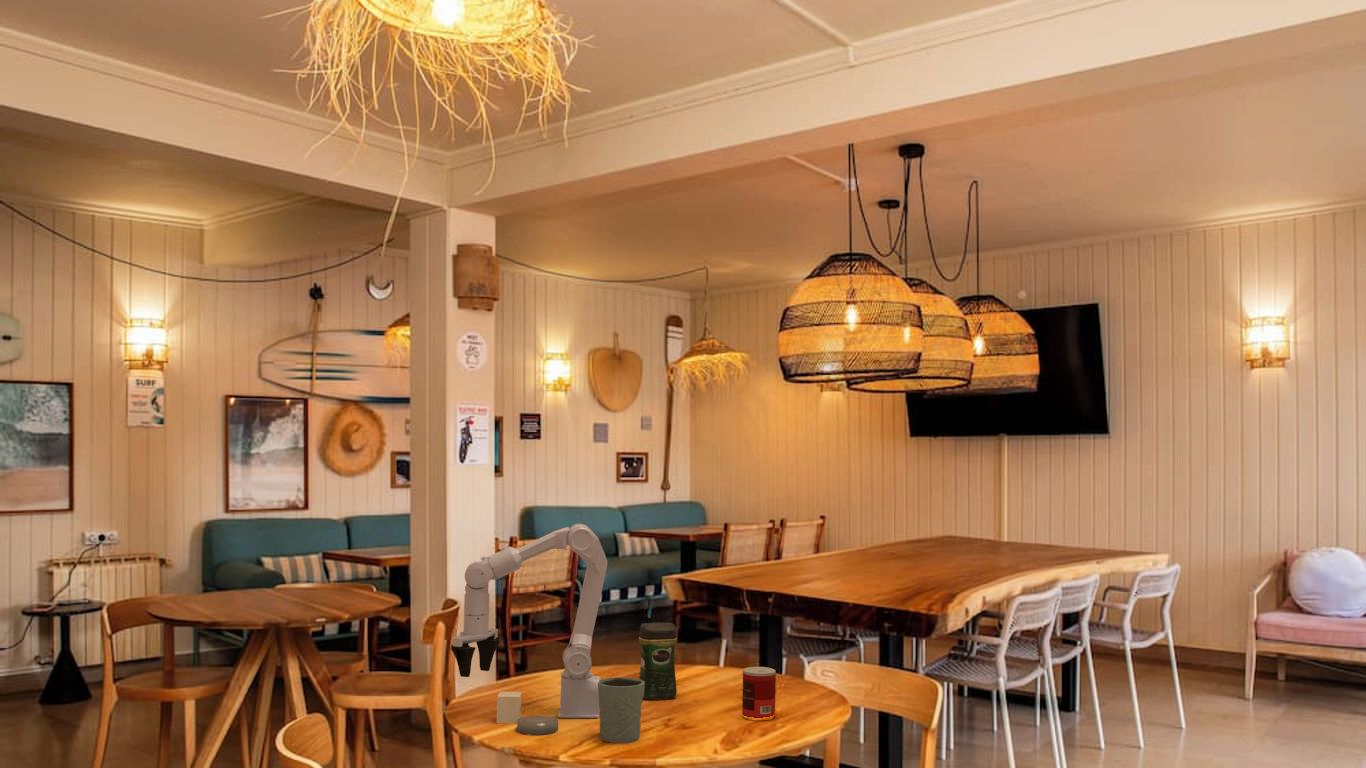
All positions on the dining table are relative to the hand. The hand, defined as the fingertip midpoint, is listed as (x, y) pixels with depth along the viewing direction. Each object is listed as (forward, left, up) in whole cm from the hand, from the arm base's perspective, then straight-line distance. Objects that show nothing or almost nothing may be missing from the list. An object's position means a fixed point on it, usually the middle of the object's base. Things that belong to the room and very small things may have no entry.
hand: (474, 673), depth 246 cm
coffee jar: (-43, -20, -10) cm, 49 cm away
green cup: (-33, +18, -10) cm, 39 cm away
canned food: (-66, 0, -10) cm, 67 cm away
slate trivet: (-15, +12, -10) cm, 22 cm away
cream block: (-8, +4, -10) cm, 13 cm away
